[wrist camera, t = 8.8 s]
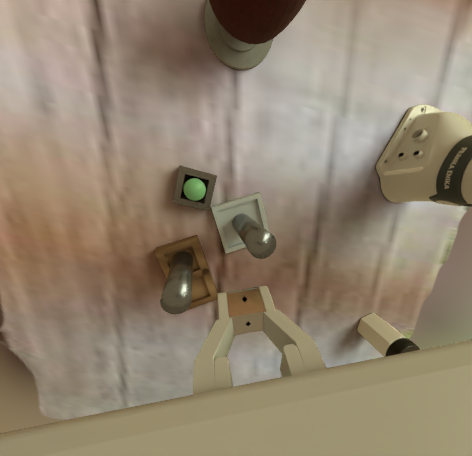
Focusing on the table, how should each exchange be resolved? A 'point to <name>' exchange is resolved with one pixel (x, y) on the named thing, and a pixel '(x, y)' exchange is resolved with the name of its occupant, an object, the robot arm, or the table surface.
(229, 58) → the mate gourd
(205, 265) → the tray
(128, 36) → the table surface
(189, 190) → the button
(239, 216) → the cylinder
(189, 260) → the cylinder
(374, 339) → the jar
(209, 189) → the switch box
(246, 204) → the square tray
